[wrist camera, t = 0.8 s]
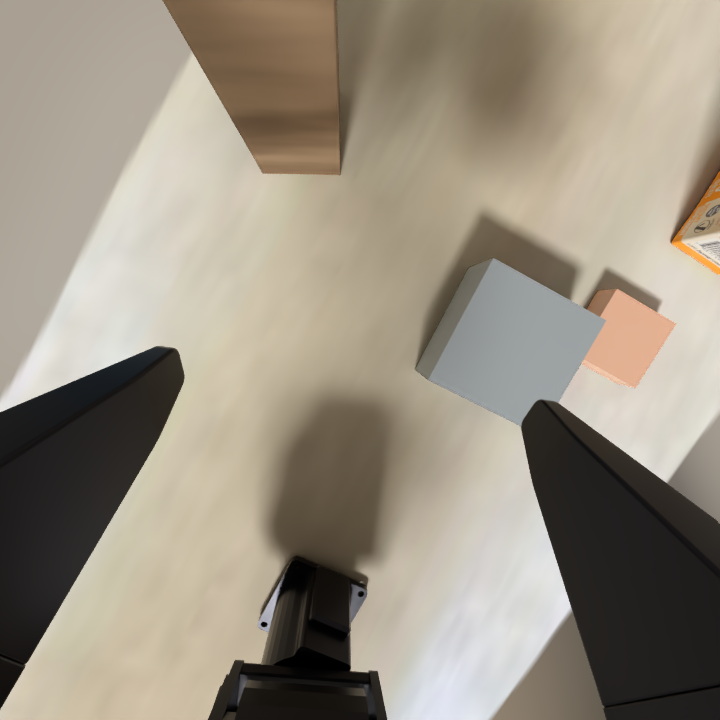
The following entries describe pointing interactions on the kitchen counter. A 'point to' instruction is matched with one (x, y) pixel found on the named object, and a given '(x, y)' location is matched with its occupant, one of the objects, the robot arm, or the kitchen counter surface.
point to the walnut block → (272, 75)
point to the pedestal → (508, 341)
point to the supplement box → (703, 230)
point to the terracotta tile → (625, 337)
